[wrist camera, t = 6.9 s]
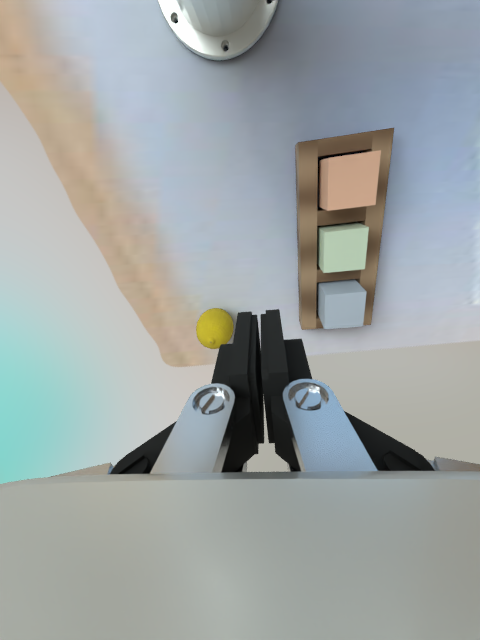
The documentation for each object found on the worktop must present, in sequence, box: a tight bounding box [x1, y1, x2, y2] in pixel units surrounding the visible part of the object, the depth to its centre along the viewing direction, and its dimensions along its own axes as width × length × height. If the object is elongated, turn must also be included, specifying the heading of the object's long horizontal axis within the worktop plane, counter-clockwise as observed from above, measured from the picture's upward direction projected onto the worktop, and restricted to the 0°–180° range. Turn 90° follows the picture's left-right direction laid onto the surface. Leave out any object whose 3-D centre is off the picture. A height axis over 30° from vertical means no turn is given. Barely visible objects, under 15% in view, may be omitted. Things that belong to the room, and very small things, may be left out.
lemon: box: [196, 308, 234, 349], centre depth 40 cm, size 6×6×8 cm
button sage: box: [317, 221, 369, 273], centre depth 34 cm, size 5×5×5 cm
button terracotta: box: [319, 150, 381, 211], centre depth 30 cm, size 5×5×5 cm
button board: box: [295, 128, 394, 330], centre depth 36 cm, size 24×10×3 cm, turn 7°
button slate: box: [317, 279, 366, 329], centre depth 37 cm, size 5×5×5 cm
